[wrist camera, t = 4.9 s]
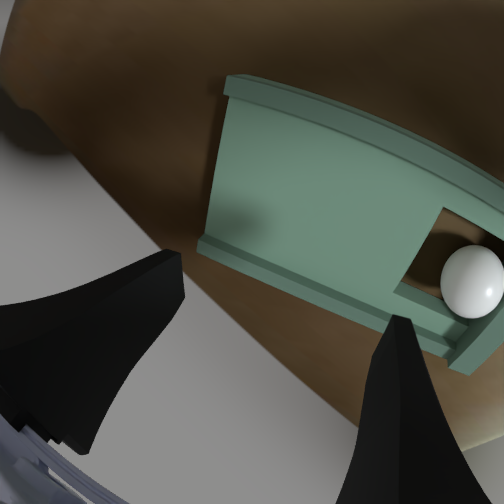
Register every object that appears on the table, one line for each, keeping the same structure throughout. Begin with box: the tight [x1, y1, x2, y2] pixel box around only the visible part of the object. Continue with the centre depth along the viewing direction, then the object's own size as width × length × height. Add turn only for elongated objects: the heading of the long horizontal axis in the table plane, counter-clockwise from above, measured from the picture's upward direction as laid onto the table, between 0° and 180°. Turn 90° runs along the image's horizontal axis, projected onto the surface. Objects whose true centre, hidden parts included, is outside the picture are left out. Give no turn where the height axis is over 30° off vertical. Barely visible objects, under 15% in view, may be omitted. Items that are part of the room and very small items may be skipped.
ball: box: [440, 245, 504, 318], centre depth 14 cm, size 4×4×4 cm
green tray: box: [197, 74, 504, 376], centre depth 16 cm, size 20×11×3 cm, turn 77°
